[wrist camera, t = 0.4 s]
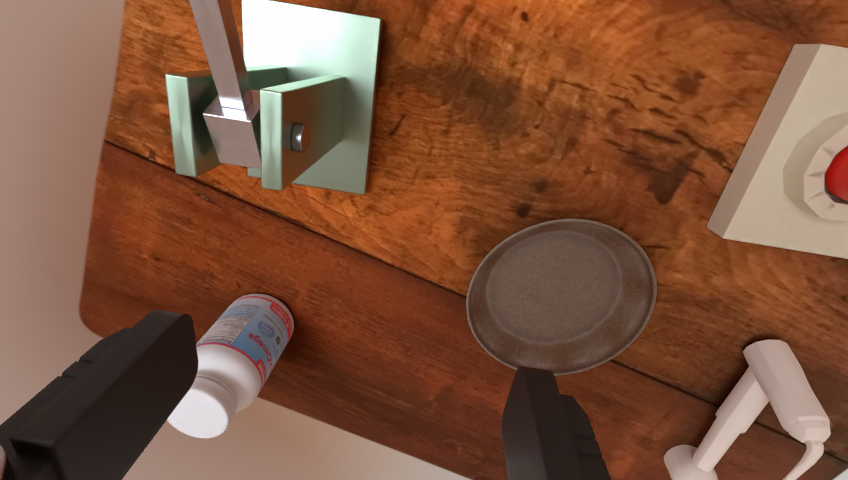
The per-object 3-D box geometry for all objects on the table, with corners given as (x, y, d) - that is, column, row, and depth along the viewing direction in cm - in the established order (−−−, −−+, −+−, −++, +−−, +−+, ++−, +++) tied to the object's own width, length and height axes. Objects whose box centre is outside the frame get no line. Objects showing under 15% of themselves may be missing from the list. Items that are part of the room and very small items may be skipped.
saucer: (669, 312, 35) (685, 331, 33) (516, 378, 39) (520, 400, 37) (598, 170, 31) (611, 181, 28) (432, 263, 35) (431, 279, 32)
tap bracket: (249, -4, 27) (99, -43, 16) (383, 19, 27) (334, -4, 16) (254, 171, 32) (143, 240, 21) (367, 190, 32) (321, 269, 21)
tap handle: (75, -264, 11) (10, -267, 10) (259, -232, 12) (222, -230, 10) (210, 129, 22) (188, 158, 20) (308, 145, 22) (294, 175, 20)
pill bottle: (302, 342, 39) (250, 445, 29) (241, 345, 40) (169, 447, 29) (287, 288, 37) (223, 379, 26) (222, 291, 37) (136, 383, 27)
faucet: (643, 418, 47) (670, 520, 40) (757, 335, 34) (825, 461, 27) (677, 425, 47) (710, 528, 40) (802, 344, 35) (882, 472, 27)
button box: (793, 44, 26) (848, 43, 23) (944, 69, 27) (1022, 72, 23) (705, 226, 32) (738, 249, 28) (830, 247, 32) (879, 272, 28)
